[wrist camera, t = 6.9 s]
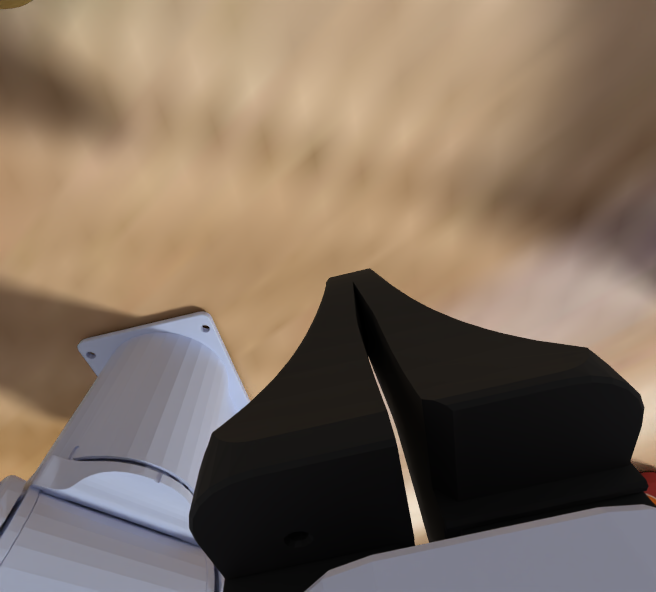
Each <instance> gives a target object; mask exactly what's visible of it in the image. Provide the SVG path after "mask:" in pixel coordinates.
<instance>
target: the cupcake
mask: <svg viewBox="0 0 656 592" xmlns="http://www.w3.org/2000/svg"><path fill="white" fill-rule="evenodd" d="M31 1H32V0H0V9H9V8H16V7H20V6H23V5H25V4H27V3H29V2H31Z"/></svg>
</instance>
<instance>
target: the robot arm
mask: <svg viewBox="0 0 656 592" xmlns="http://www.w3.org/2000/svg"><path fill="white" fill-rule="evenodd" d="M203 325H207V326H209V328H208V329H206V328H204V327H203ZM77 348H78V350H79V352H80V353H81V355H82V356H83V357H84V359H85V360H86V361H87V363H88V364H89V366H90V367H91V368H92V370H93V371H94V372H95V374H96V375H97V379H96V380H95V382H94V383H93V385H92V386H91V388H90V389H89V391H88V392H87V394H86V395H85V397H84V398H83V400H82V402H81V403H80V405H79V406H78V408H77V409H76V411H75V412H74V414H73V415H72V417H71V418H70V420H69V421H68V423H67V424H66V426H65V427H64V429H63V430H62V432H61V434H60V435H59V437H58V438H57V440H56V441H55V443H54V444H53V446H52V447H51V449H50V450H49V452H48V453H47V455H46V456H45V458H44V459H43V461H42V463H41V464H40V466H39V467H38V469H37V470H36V472H35V473H34V474H33V475H32V476H31V477H30V479H29V480H28V481H25V480H23V479H21V478H19V477H17V476H15V475H10V476H7V477H6V478H4V479H3V480H2V481H1V482H0V592H656V505H655V504H654V503H653V502H652V501H651V499H650V498H649V497H648V496H647V495H646V494H645V493H644V491H647V489H648V487H649V485H648V483H647V480H646V479H645V478H644V477H643V476H642V474H641V473H640V472H639V471H638V470H637V469H636V468H635V467H634V466H633V464H632V463H631V462H630V460H631V457H632V454H633V451H634V448H635V445H636V442H637V439H638V436H639V433H640V430H641V427H642V421H643V414H644V405H643V402H642V399H641V396H640V394H639V393H638V392H637V391H636V390H635V389H634V388H633V387H632V386H631V385H630V384H629V383H628V382H627V381H626V380H624V379H623V378H622V377H621V376H620V375H619V374H618V373H617V372H616V371H615V370H614V369H613V368H611V367H610V366H609V365H608V364H607V363H606V362H604V361H603V360H602V359H601V358H600V357H598V356H597V355H596V354H595V353H593V352H592V351H591V350H589V349H588V348H585V347H578V346H571V345H564V344H557V343H550V342H543V341H536V340H531V339H526V338H522V337H517V336H512V335H508V334H503V333H499V332H495V331H491V330H488V329H484V328H481V327H478V326H475V325H472V324H468V323H465V322H462V321H460V320H457V319H454V318H452V317H449V316H447V315H445V314H442V313H440V312H437V311H435V310H433V309H431V308H429V307H427V306H425V305H423V304H421V303H419V302H417V301H416V300H414V299H412V298H410V297H409V296H407V295H406V294H404V293H403V292H401V291H400V290H398V289H397V288H395V287H394V286H392V285H391V284H389V283H388V282H387V281H385V280H384V279H383V278H382V277H380V276H379V275H378V274H377V273H375V272H374V271H373V270H371V269H370V268H369V269H365V270H361V271H356V272H352V273H348V274H344V275H339V276H335V277H331V278H329V279H328V281H327V282H326V288H325V292H324V295H323V298H322V301H321V304H320V306H319V309H318V311H317V314H316V316H315V318H314V320H313V322H312V324H311V326H310V328H309V330H308V332H307V334H306V336H305V337H304V339H303V341H302V343H301V344H300V346H299V347H298V349H297V350H296V352H295V353H294V355H293V356H292V357H291V359H290V360H289V361H288V363H287V364H286V365H285V366H284V367H283V369H282V370H281V371H280V372H279V373H278V375H277V376H276V377H275V378H274V379H273V380H272V381H271V382H270V383H269V384H268V385H267V386H266V387H265V388H264V389H263V390H262V391H261V392H260V393H259V394H258V395H257V396H256V397H255V398H254V399H253V400H252V401H251V402H250V400H249V397H248V395H247V393H246V391H245V389H244V386H243V384H242V382H241V380H240V378H239V376H238V373H237V371H236V369H235V367H234V365H233V363H232V360H231V358H230V356H229V354H228V352H227V350H226V347H225V345H224V343H223V341H222V339H221V336H220V334H219V332H218V330H217V328H216V326H215V323H214V321H213V319H212V317H211V315H210V314H209V313H207V312H204V311H202V312H196V313H192V314H188V315H183V316H179V317H175V318H171V319H166V320H162V321H158V322H154V323H149V324H145V325H141V326H137V327H132V328H128V329H124V330H120V331H116V332H111V333H107V334H103V335H99V336H94V337H90V338H86V339H83V340H81V342H80V343H79V344H78V346H77ZM90 352H92V353H94V354H95V355H93V354H91V353H90ZM368 356H369V358H368ZM369 359H370V361H371V364H372V366H373V369H374V371H375V374H376V376H377V379H378V381H379V384H380V386H381V389H382V391H383V394H384V396H385V399H386V401H387V404H388V406H389V409H390V411H391V414H392V416H393V419H394V422H395V425H396V428H397V431H398V435H399V438H400V442H401V445H402V448H403V452H404V455H405V459H406V462H407V466H408V469H409V473H410V476H411V480H412V483H413V487H414V490H415V494H416V497H417V501H418V504H419V508H420V512H421V515H422V519H423V522H424V526H425V529H426V533H427V537H428V540H429V543H427V544H422V545H417V546H415V543H414V540H415V539H414V534H413V528H412V523H411V518H410V512H409V507H408V502H407V496H406V491H405V486H404V480H403V475H402V469H401V464H400V459H399V453H398V448H397V443H396V439H395V436H394V432H393V429H392V426H391V422H390V419H389V415H388V412H387V409H386V407H385V404H384V402H383V399H382V396H381V394H380V391H379V388H378V385H377V383H376V380H375V377H374V374H373V371H372V368H371V365H370V362H369Z"/></svg>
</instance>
